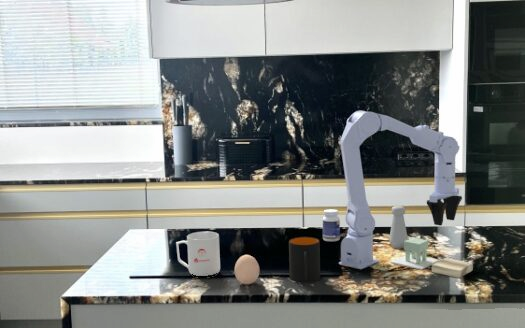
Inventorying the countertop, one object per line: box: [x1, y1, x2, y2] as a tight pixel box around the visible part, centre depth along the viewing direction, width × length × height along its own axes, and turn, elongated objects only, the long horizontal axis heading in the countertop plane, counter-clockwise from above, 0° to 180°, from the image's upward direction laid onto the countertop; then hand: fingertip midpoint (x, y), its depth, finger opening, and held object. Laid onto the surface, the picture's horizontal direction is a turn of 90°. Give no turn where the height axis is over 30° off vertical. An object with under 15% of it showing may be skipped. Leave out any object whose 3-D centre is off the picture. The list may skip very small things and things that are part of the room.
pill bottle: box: [322, 208, 341, 242], centre depth 198 cm, size 6×6×10 cm
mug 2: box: [288, 236, 321, 284], centre depth 159 cm, size 8×12×10 cm
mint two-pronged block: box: [403, 237, 429, 264], centre depth 171 cm, size 5×5×6 cm
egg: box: [234, 254, 260, 285], centre depth 158 cm, size 7×7×8 cm
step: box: [431, 257, 474, 279], centre depth 162 cm, size 8×8×2 cm
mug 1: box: [175, 231, 221, 276], centre depth 167 cm, size 12×9×11 cm
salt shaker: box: [388, 205, 409, 249], centre depth 187 cm, size 6×6×13 cm
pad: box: [390, 253, 440, 271], centre depth 172 cm, size 10×10×1 cm
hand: (444, 222), depth 174 cm, fingers open, 7 cm apart
